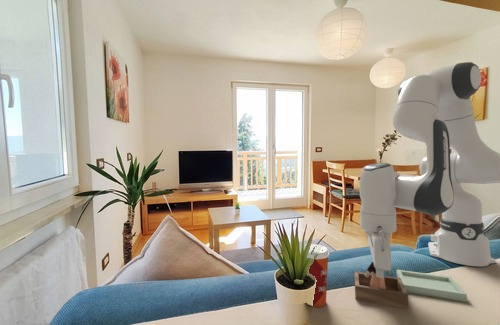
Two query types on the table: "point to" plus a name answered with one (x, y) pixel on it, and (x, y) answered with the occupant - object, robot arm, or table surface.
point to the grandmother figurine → (375, 280)
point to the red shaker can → (319, 273)
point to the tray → (431, 285)
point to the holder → (381, 291)
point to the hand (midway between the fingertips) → (378, 272)
